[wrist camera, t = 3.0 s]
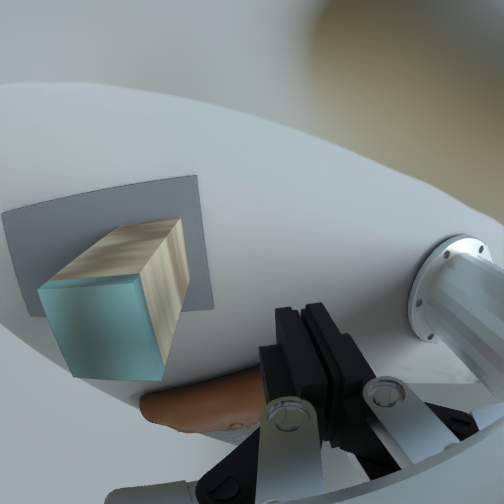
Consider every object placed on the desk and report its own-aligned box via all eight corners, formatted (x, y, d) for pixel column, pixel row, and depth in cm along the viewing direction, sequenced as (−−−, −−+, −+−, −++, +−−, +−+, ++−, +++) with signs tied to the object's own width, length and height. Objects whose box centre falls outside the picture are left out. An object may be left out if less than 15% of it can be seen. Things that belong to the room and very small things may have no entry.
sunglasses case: (178, 435, 31) (157, 457, 24) (157, 385, 32) (131, 400, 26) (320, 397, 30) (327, 418, 23) (300, 342, 31) (303, 351, 25)
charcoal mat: (197, 175, 22) (196, 175, 21) (213, 305, 25) (213, 309, 25) (4, 212, 21) (1, 213, 20) (33, 313, 24) (30, 316, 24)
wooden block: (181, 217, 22) (132, 283, 11) (190, 278, 24) (161, 380, 12) (121, 224, 22) (37, 289, 11) (133, 283, 23) (73, 377, 12)
